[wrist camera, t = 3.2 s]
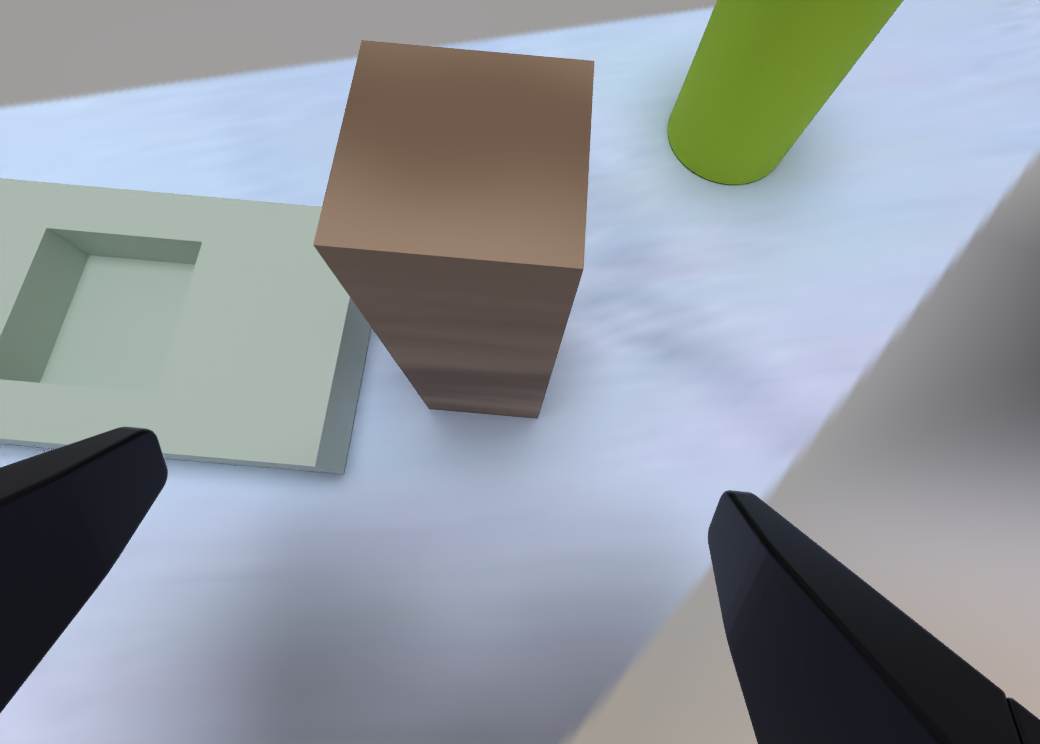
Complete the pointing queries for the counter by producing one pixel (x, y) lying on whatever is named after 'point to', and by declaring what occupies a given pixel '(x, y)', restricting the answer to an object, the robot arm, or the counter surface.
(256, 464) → the sage rectangular frame
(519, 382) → the walnut post
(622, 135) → the counter surface
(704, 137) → the soap dispenser
